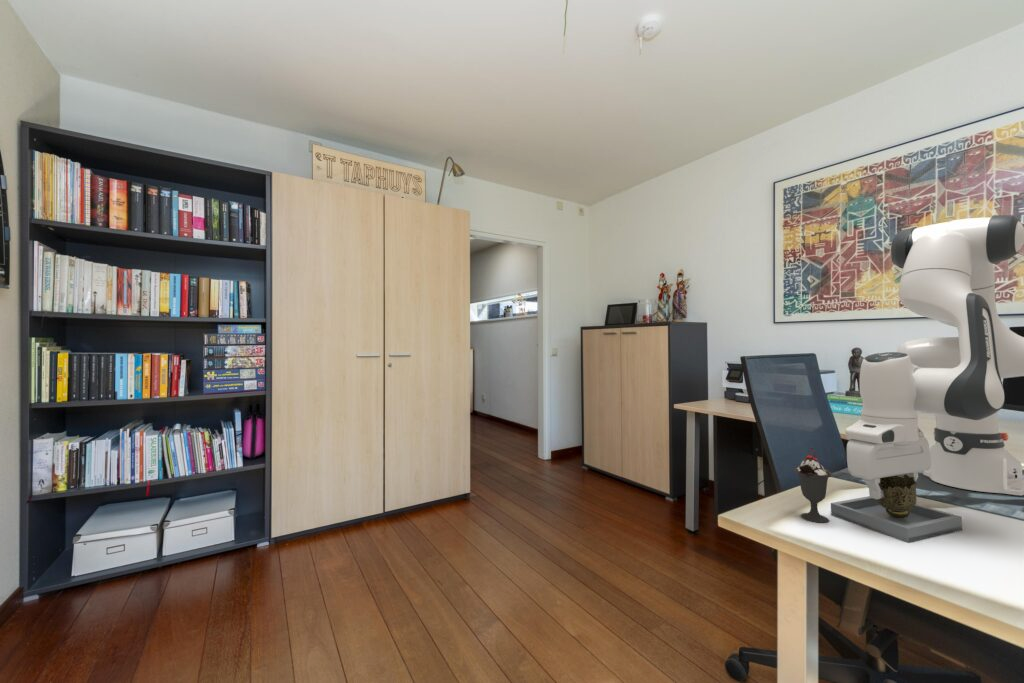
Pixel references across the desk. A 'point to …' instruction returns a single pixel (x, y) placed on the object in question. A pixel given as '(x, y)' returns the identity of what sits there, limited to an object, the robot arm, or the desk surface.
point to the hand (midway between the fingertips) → (892, 495)
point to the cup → (898, 495)
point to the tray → (897, 519)
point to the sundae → (813, 486)
